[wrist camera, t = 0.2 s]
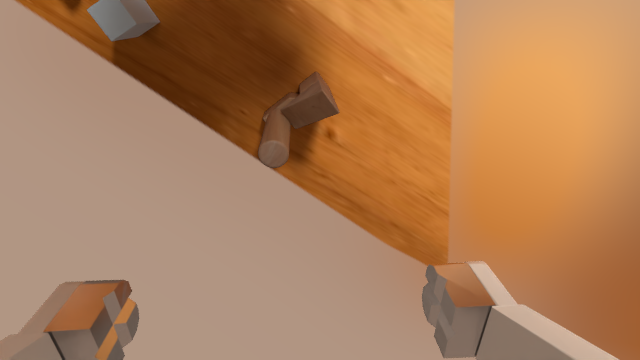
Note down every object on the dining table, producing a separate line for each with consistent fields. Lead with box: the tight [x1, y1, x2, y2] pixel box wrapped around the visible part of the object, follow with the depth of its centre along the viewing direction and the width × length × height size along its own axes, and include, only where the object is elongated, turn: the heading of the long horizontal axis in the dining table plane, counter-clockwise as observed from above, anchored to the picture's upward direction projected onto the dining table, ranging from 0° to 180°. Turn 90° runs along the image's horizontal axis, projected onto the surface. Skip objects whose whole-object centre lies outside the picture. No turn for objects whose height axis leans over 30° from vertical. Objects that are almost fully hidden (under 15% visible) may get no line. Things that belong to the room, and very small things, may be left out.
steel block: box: [87, 0, 160, 41], centre depth 45 cm, size 4×4×8 cm
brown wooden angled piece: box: [258, 72, 339, 168], centre depth 47 cm, size 4×11×18 cm, turn 127°
